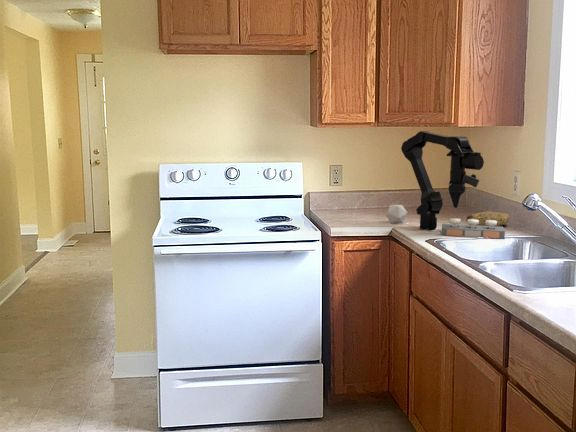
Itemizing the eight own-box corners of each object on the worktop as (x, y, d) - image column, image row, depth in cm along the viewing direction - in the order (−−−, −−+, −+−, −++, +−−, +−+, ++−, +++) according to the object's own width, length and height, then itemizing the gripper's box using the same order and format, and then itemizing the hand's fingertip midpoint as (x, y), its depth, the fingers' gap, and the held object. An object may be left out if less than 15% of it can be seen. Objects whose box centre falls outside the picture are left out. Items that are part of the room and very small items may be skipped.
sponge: (475, 232, 278) (520, 222, 280) (471, 214, 278) (516, 204, 280) (464, 232, 291) (506, 223, 293) (460, 215, 291) (502, 205, 293)
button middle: (466, 230, 263) (467, 220, 263) (466, 228, 268) (467, 218, 267) (478, 231, 262) (478, 221, 262) (478, 229, 267) (478, 219, 266)
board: (441, 235, 263) (441, 228, 262) (441, 230, 274) (442, 223, 273) (504, 239, 257) (505, 231, 257) (502, 234, 268) (503, 226, 267)
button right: (485, 231, 262) (485, 221, 261) (484, 229, 266) (485, 219, 265) (496, 232, 261) (497, 222, 260) (496, 230, 265) (496, 220, 264)
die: (404, 222, 297) (392, 204, 298) (414, 215, 289) (401, 196, 290) (391, 231, 293) (378, 212, 294) (401, 224, 285) (388, 205, 286)
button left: (448, 229, 265) (449, 219, 265) (449, 227, 269) (449, 218, 269) (460, 230, 264) (460, 220, 264) (460, 228, 268) (460, 218, 268)
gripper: (479, 170, 252) (477, 211, 255) (477, 166, 270) (475, 204, 272) (449, 169, 255) (447, 209, 257) (449, 166, 273) (448, 203, 275)
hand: (455, 206), depth 265 cm, fingers open, 5 cm apart
